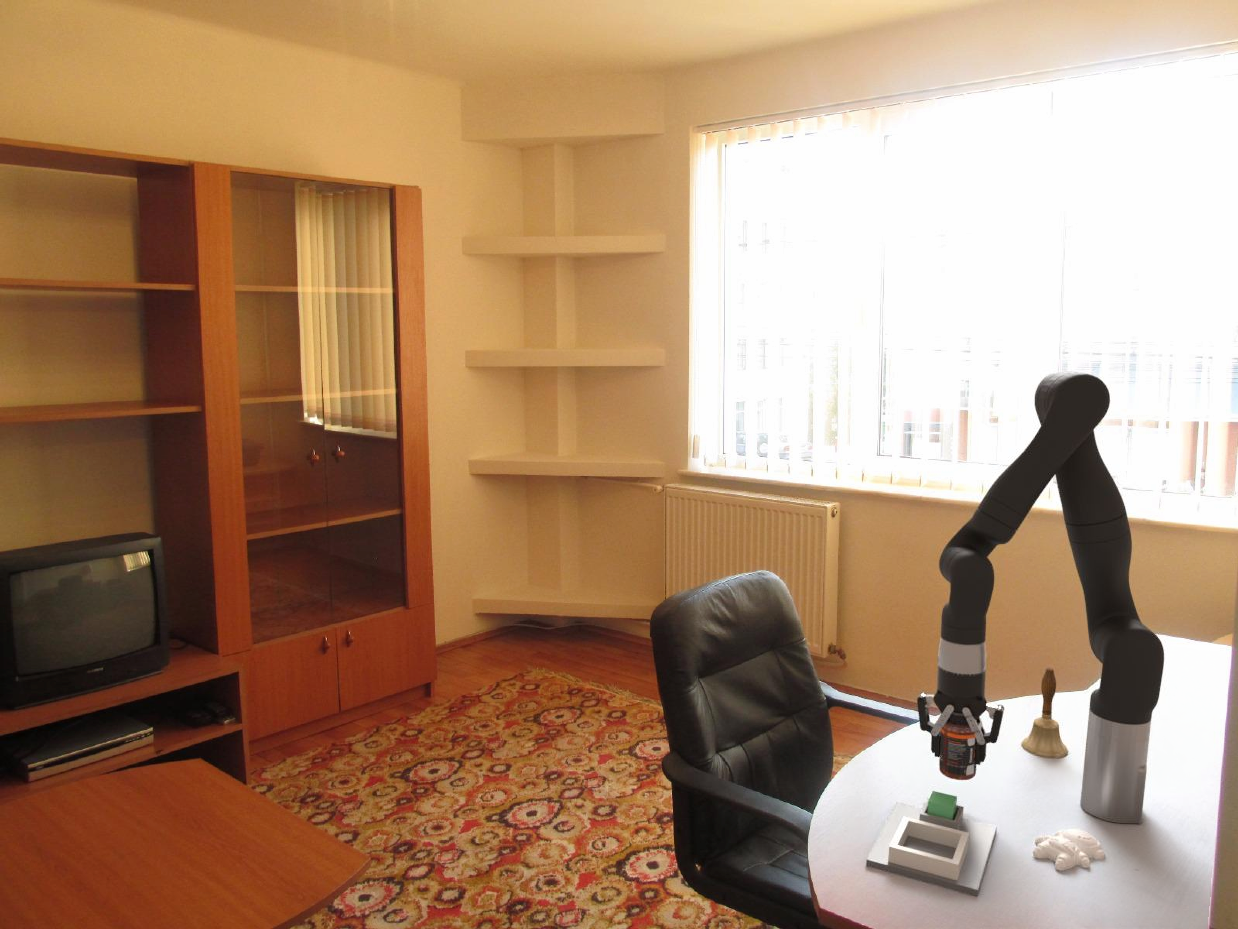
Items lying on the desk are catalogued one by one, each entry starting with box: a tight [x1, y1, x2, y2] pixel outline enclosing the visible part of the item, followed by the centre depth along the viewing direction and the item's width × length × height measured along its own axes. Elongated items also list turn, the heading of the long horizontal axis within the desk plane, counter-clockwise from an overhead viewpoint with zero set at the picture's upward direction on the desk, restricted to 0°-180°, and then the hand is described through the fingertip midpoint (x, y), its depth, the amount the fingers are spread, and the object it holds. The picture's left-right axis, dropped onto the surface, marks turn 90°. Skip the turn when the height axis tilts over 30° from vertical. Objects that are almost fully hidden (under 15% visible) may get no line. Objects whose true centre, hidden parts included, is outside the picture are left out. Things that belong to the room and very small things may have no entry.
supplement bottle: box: [938, 712, 977, 781], centre depth 165 cm, size 6×6×11 cm
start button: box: [927, 790, 958, 820], centre depth 158 cm, size 4×4×3 cm
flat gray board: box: [865, 797, 998, 897], centre depth 153 cm, size 16×20×4 cm
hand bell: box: [1020, 667, 1069, 759], centre depth 187 cm, size 8×8×16 cm
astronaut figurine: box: [1032, 828, 1106, 871], centre depth 152 cm, size 9×12×3 cm
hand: (957, 758), depth 166 cm, fingers closed on supplement bottle, 6 cm apart
